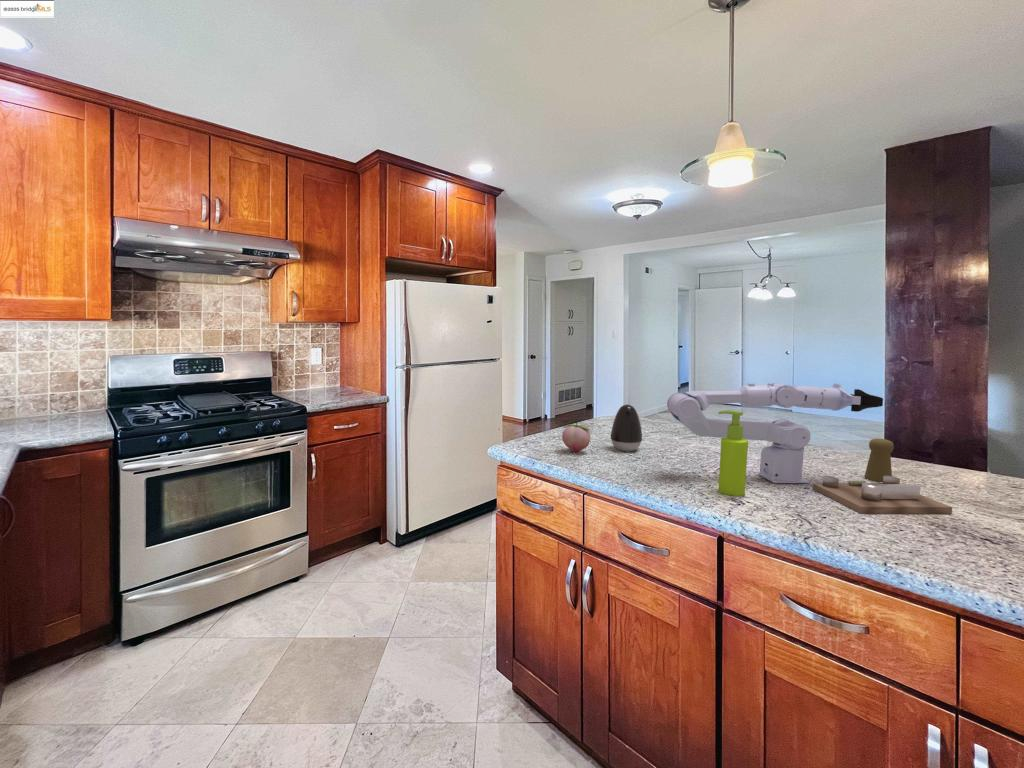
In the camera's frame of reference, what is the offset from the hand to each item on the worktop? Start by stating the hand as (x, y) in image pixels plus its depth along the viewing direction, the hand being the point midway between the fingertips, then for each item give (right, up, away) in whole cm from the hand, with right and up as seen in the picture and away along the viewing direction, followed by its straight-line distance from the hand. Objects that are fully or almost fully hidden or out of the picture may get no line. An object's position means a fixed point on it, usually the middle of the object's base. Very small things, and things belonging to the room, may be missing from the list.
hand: (871, 401), depth 121 cm
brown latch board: (-8, -23, -12) cm, 27 cm away
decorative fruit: (-72, -18, +31) cm, 81 cm away
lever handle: (-7, -21, -15) cm, 27 cm away
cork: (+5, -21, +4) cm, 22 cm away
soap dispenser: (-40, -22, -6) cm, 46 cm away
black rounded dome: (-55, -18, +34) cm, 67 cm away
